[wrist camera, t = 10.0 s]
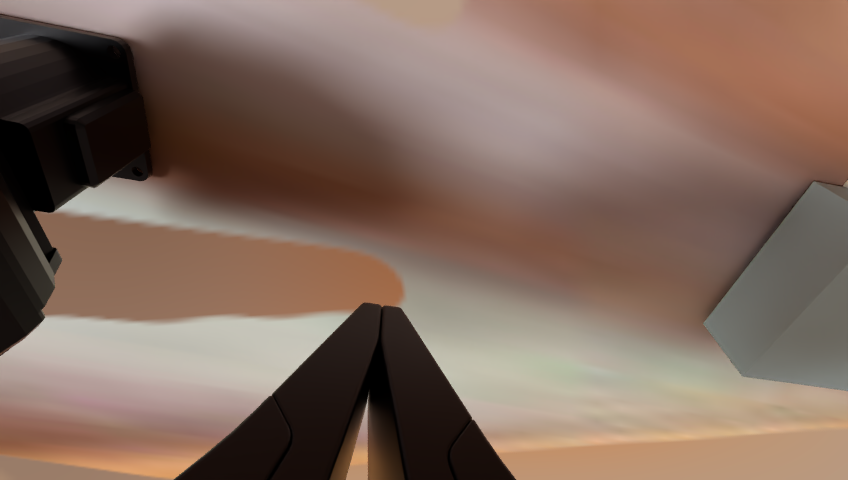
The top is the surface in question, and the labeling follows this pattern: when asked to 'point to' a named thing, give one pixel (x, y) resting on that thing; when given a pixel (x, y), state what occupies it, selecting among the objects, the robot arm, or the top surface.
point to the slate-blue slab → (793, 298)
